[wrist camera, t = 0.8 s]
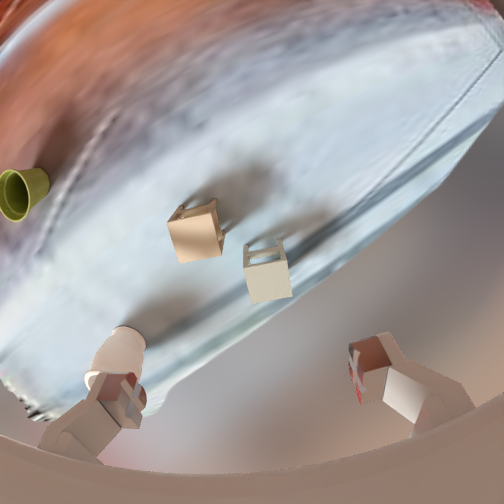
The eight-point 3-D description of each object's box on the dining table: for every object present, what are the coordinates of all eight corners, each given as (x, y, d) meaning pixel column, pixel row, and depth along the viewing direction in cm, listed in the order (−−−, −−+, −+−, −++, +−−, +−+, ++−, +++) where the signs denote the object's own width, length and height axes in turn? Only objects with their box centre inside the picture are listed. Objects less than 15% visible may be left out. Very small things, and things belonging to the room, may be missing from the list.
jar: (108, 315, 57) (81, 364, 43) (153, 330, 58) (134, 383, 45) (107, 348, 61) (85, 395, 47) (147, 362, 62) (132, 412, 49)
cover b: (243, 245, 50) (243, 268, 43) (280, 238, 50) (286, 260, 43) (250, 277, 53) (251, 303, 46) (286, 271, 53) (292, 296, 45)
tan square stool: (178, 206, 47) (166, 223, 40) (216, 198, 47) (210, 213, 39) (188, 241, 50) (179, 263, 43) (225, 234, 49) (221, 255, 42)
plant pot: (61, 203, 46) (35, 218, 38) (28, 209, 46) (2, 225, 38) (52, 154, 42) (23, 163, 34) (19, 165, 42) (-9, 175, 34)
